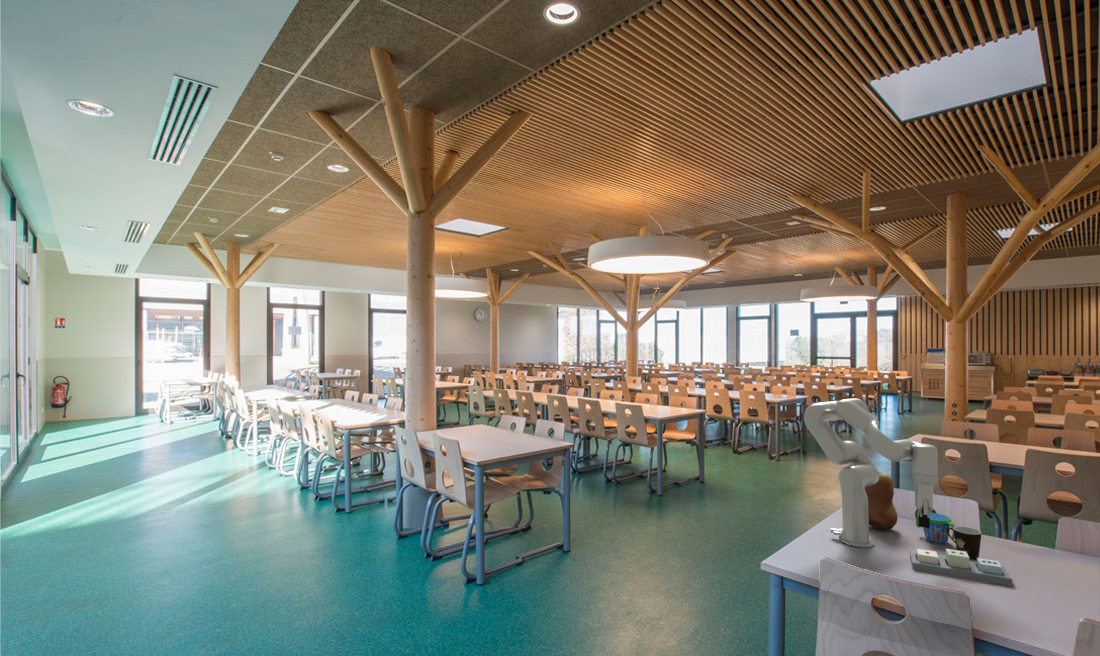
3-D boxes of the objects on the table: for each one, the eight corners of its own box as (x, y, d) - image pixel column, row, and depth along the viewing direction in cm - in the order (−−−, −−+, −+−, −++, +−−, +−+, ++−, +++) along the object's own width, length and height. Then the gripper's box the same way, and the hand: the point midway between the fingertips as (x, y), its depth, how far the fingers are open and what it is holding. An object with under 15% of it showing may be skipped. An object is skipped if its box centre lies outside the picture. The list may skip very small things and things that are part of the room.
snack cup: (909, 535, 227) (908, 511, 227) (929, 533, 229) (928, 509, 229) (943, 549, 211) (942, 523, 212) (965, 546, 214) (964, 521, 214)
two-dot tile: (948, 565, 191) (948, 553, 191) (946, 559, 196) (945, 548, 196) (969, 569, 188) (969, 557, 188) (966, 562, 193) (966, 551, 193)
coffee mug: (987, 561, 199) (986, 535, 200) (961, 560, 201) (960, 533, 201) (969, 549, 211) (969, 524, 211) (945, 548, 212) (944, 523, 213)
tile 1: (918, 565, 195) (918, 553, 195) (916, 559, 200) (916, 548, 201) (938, 568, 192) (938, 556, 192) (936, 562, 197) (936, 551, 198)
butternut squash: (900, 528, 235) (899, 471, 236) (894, 536, 226) (892, 477, 226) (865, 521, 245) (864, 466, 246) (857, 528, 235) (856, 472, 236)
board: (912, 569, 194) (912, 562, 194) (909, 557, 204) (909, 551, 204) (1012, 586, 180) (1012, 578, 180) (1003, 572, 190) (1003, 565, 190)
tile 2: (980, 575, 186) (980, 563, 186) (977, 568, 191) (976, 557, 192) (1002, 579, 183) (1002, 566, 183) (998, 572, 188) (998, 560, 189)
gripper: (910, 471, 206) (910, 518, 206) (914, 481, 193) (913, 531, 193) (934, 474, 202) (933, 522, 202) (939, 484, 189) (939, 535, 189)
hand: (924, 526), depth 197 cm, fingers closed
